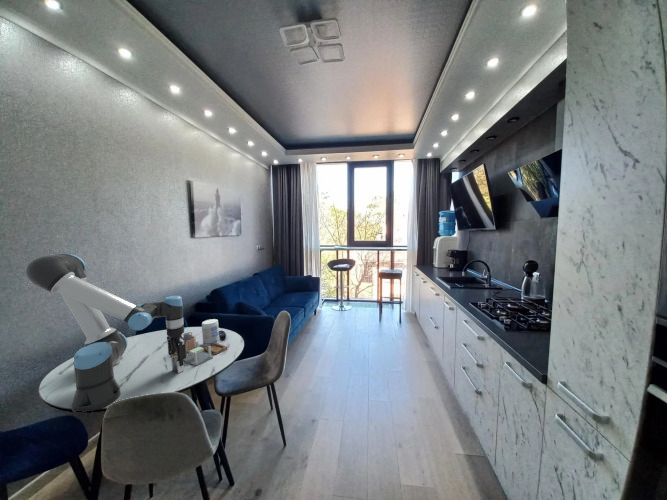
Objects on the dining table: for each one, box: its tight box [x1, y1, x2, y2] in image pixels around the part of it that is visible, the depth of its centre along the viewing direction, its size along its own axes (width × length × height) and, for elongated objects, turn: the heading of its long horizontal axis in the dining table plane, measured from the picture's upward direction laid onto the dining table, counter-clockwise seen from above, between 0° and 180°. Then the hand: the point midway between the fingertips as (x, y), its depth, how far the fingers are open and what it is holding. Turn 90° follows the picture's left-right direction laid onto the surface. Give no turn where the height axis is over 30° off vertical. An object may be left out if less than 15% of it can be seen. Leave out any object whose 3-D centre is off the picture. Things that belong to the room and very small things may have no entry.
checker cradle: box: [183, 341, 214, 367], centre depth 142 cm, size 10×14×7 cm
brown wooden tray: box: [202, 343, 228, 356], centre depth 153 cm, size 8×12×2 cm, turn 60°
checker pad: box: [188, 346, 205, 355], centre depth 142 cm, size 6×4×2 cm, turn 150°
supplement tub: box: [201, 318, 220, 347], centre depth 161 cm, size 10×10×15 cm
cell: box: [171, 352, 179, 374], centre depth 130 cm, size 5×5×10 cm
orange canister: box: [182, 331, 197, 353], centre depth 153 cm, size 8×8×10 cm
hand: (178, 370), depth 130 cm, fingers closed on cell, 5 cm apart
